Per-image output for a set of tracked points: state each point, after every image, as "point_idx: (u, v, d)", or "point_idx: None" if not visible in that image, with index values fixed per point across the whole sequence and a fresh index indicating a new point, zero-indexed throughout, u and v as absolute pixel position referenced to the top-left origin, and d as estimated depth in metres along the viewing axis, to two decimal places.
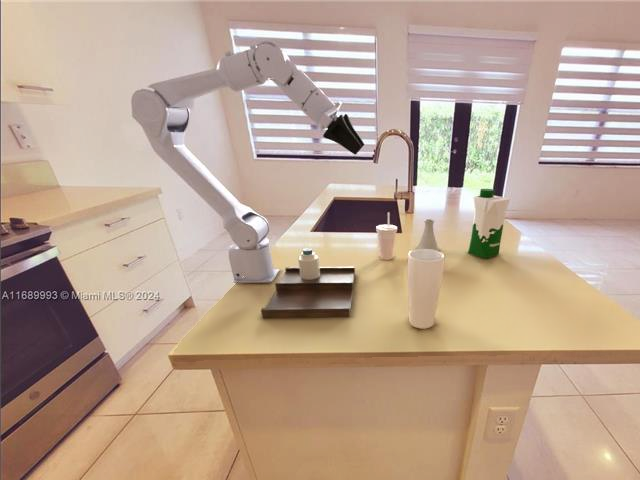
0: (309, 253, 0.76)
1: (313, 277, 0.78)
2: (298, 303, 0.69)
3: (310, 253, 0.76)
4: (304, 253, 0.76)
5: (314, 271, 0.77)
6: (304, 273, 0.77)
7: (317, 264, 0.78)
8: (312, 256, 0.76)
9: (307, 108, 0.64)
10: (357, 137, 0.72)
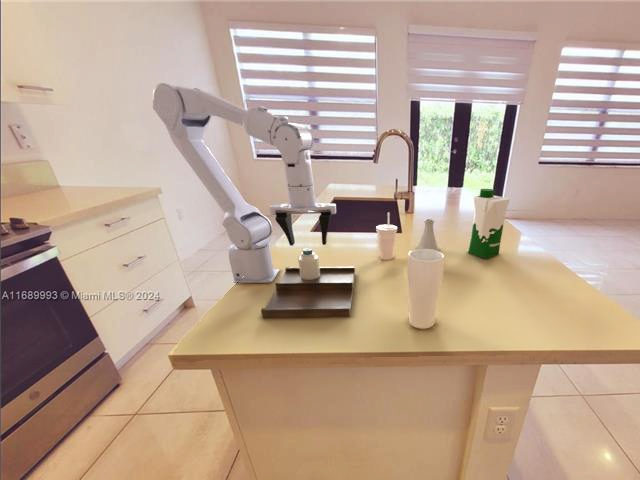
0: (309, 253, 0.76)
1: (313, 277, 0.78)
2: (298, 303, 0.69)
3: (310, 253, 0.76)
4: (304, 253, 0.76)
5: (314, 271, 0.77)
6: (304, 273, 0.77)
7: (317, 264, 0.78)
8: (312, 256, 0.76)
9: None
10: (322, 236, 0.74)
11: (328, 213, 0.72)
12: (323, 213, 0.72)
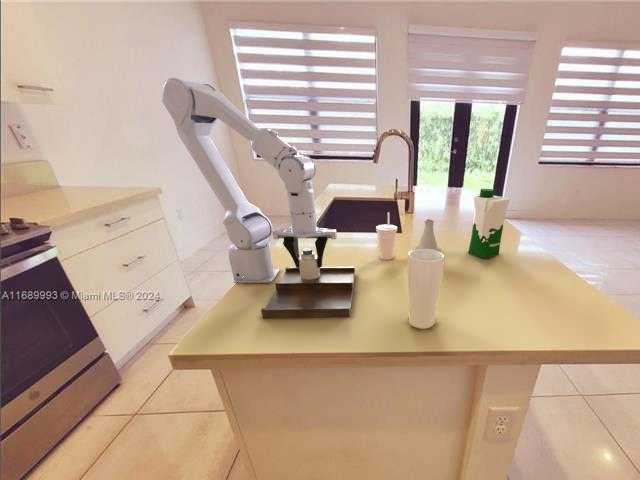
0: (309, 253, 0.76)
1: (313, 277, 0.78)
2: (298, 303, 0.69)
3: (310, 253, 0.76)
4: (304, 253, 0.76)
5: (314, 271, 0.77)
6: (304, 273, 0.77)
7: (317, 264, 0.78)
8: (312, 256, 0.76)
9: None
10: (317, 259, 0.77)
11: (324, 238, 0.75)
12: (319, 238, 0.74)
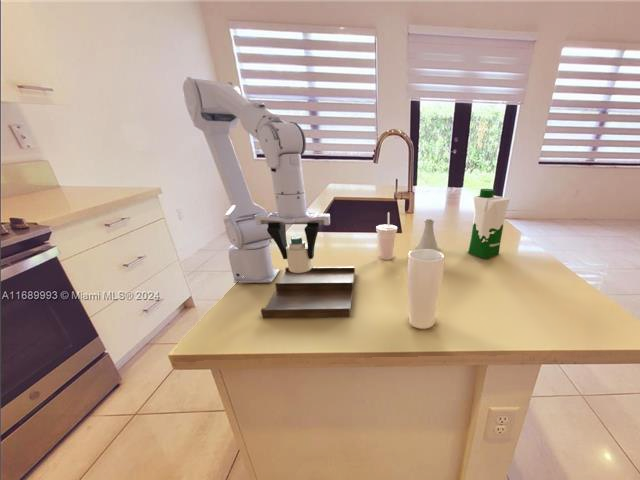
0: (298, 242, 0.65)
1: (303, 270, 0.67)
2: (298, 303, 0.69)
3: (299, 242, 0.65)
4: (292, 242, 0.65)
5: (305, 263, 0.67)
6: (292, 265, 0.66)
7: None
8: (302, 245, 0.66)
9: None
10: (308, 249, 0.66)
11: (315, 224, 0.64)
12: (310, 224, 0.64)
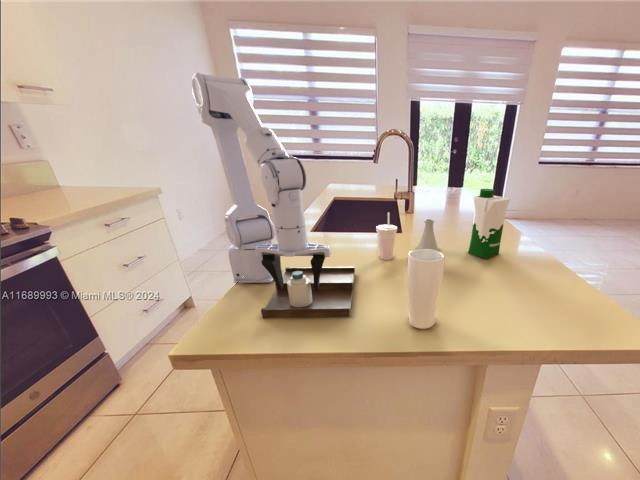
0: (299, 277, 0.66)
1: (304, 304, 0.68)
2: None
3: (300, 277, 0.66)
4: (294, 277, 0.66)
5: (306, 298, 0.67)
6: (293, 300, 0.67)
7: (309, 289, 0.67)
8: (303, 281, 0.66)
9: None
10: (314, 280, 0.66)
11: (321, 256, 0.64)
12: (315, 256, 0.64)
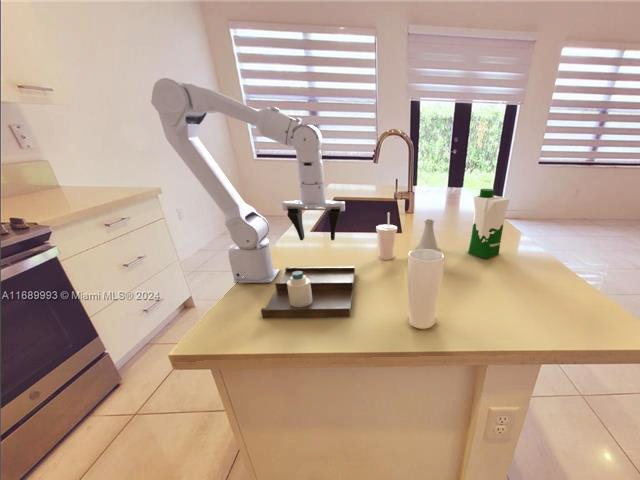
0: (299, 277, 0.66)
1: (304, 304, 0.68)
2: None
3: (300, 277, 0.66)
4: (294, 277, 0.66)
5: (306, 298, 0.67)
6: (293, 300, 0.67)
7: (309, 289, 0.67)
8: (303, 281, 0.66)
9: None
10: None
11: (337, 210, 0.76)
12: (332, 210, 0.76)
